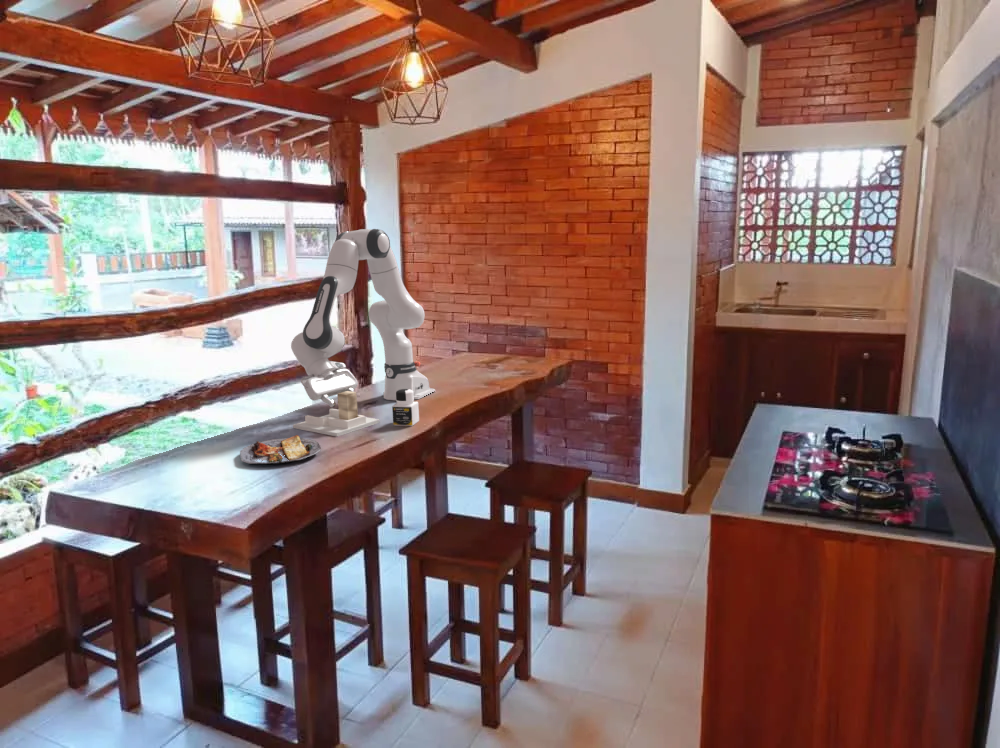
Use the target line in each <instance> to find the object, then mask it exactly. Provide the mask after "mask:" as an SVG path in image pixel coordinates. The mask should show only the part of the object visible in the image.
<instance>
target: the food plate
mask: <svg viewBox="0 0 1000 748" xmlns="http://www.w3.org/2000/svg"><path fill="white" fill-rule="evenodd" d="M320 451H321V445H320V443H319V442H318V441H317V440H315V439H311V438H303V437H300V436H299V435H298V434H296V435H293V436H290V437H288V438H287V437H284V438H273V439H268V440H267V439H266V440H263V441H255V443H251V444H249V445H248V446H246V447H244V448H242V449H241V450H239V453H240V461H241V462H244V463H246V464H253V465H254V464H258V465H259V464H261V465H266V464H267V465H278V464H285V462H286V463H291V462H297V461H302V460H305V459H306V458H308V457H312V456H314V455H316V454H317V453H319V452H320ZM280 454H281V455H282V456H284V455H285V456H284V458H282V456H281V455H280ZM285 458H287V459H288V460H289V461H288V460H284V461H283V459H285ZM259 460H260V461H259ZM263 461H264V462H263Z"/></svg>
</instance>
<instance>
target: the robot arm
mask: <svg viewBox="0 0 1000 748" xmlns="http://www.w3.org/2000/svg"><path fill="white" fill-rule="evenodd" d="M327 257H328V258H327V260H326V261H327V262H326V266H325V269H324V275H323V278H322V280H321V282H320V284H319V288H318V290H317V294H316V297H315V300H314V302H313V303H314V304H313V307H312V311H311V314H310V317H309V319H308V320H307V322H306V323H305V325H304V327H303V329H302V332H300V333H298V334H296V335H295V336H294V337H293V339H292V341H291V343H290V346H291V347H290V348H291V351H292V353H293V355H294V356H295V359H296V360H297V362H298V363H299V364H300V365H301V367H303V368H304V370H305V373H306V374H307V376H306V375H305V376H303V377H302V378H301V380H300V383H301V385H302V386H303V388H304V390H305V392H306V394H307V396H308V397H309V399H310V400H312V401H314V402H315V401H318V400H321V401H322V402H323V403H324V404H327V405H328V406H329V408H333V407H334V408H335V406H336V404H337V403H336V402H335V400H334V399H330V397H334V396H337V394H338V393H341V392H345V391H351V392H355V390H356V389H357V387H358V384H359V382H358V380H357V378H356V377H355V376H354V373H352V372H351V371H350V370H349V369H348V368H347V366H346V363H344V362H339V361H332V360H329V358H331V357H334V356H335V355H337V354H338V353H339V352H341V351H342V350H343V349H344V348H345V344H346V337H345V334H344V333H343V331H341V330H340V329H338V328H336V326H333V325H332V324H331V316H332V312H333V310H334V309H333V308H334V305H335V301H336V299H337V297H338V296H340V295H344V294H347V293H349V292H350V291H352V290H353V288H354V286H355V283H356V281H357V280H356V279H357V276H358V270H359V261H364V260H365V261H367V262H366V263H367V267H368V271H369V274H370V279H371V281H372V285H373V288H374V291H375V292H376V293H377V294H378V295H379V296H381V297H382V298H383V299H384V300H379V301H376V302H373V303H372V304H371V305H370V307H369V310H368V318H369V320H370V323H372V325H374V326H375V328H376V329H377V331H378V332H379V335H380V338H381V341H382V343H383V348H384V349H383V350H384V361H385V363H384V373H385V376H384V391H383V396H382V397H383V399H384V400H387V401H396V392H397V391H398V390H401V389H410V390H412V391H413V394H414V400H420V399H422V398H424V396H425V397H427V396H429V395H431V394H433V393H432V392H434V391H435V392H436V389H435V388H433V387H432V388H431V387H430V383H429V379H428V378H427V376H425V375H424V374H422V373H421V372H419V370H418V369H417V367H420V366H421V362H420V361H414V354H413V343H412V342H411V340H410V339H409V338H408V337H407V336H406V335H405V333H404V331H403V330H411V329H412V330H413V329H417V328H419V327H421V326H422V325H423V324H424V321H425V318H426V316H425V310H424V308H423V306H422V305H421V304H420V303H418V302H417V301H416V300H415V299H414V298H413V297H412V296H411V294H410V293H409V292H408V290H407V288H406V286H405V284H404V282H403V279H402V276H401V273H400V272H401V271H400V270H399V266H398V263H397V259H396V256H395V254H394V252H393V249H392V246H391V240H390V237H389V236H388V234H387V233H386V232H385V231H384V230H382V229H379V228H372V229H371V228H370V229H368V228H367V229H366V228H364V229H363V228H361V229H358V230H351V231H349V230H348V231H344V232H341V233H339V234H338V235H337V237H336V238H335V240H334V242H333V243H332V245H331V248H330V250H329V253H328V256H327ZM435 392H434V393H435ZM430 393H431V394H430ZM428 394H429V395H428ZM426 395H427V396H426Z"/></svg>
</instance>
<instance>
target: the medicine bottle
mask: <svg viewBox="0 0 1000 748" xmlns="http://www.w3.org/2000/svg"><path fill="white" fill-rule="evenodd" d="M395 401H396V403H395V404H393V405H392V424H393V427H394V426H397V427H398V426H399V427H414V426H415V425H416V424H417V423H418V422H420V411H419V410H420V409H419V401H415V399H414V394H413V391H412V390H410V389H401V390H398V391H397V392H396V400H395Z"/></svg>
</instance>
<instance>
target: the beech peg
mask: <svg viewBox="0 0 1000 748" xmlns="http://www.w3.org/2000/svg"><path fill="white" fill-rule="evenodd" d="M336 396H337V405H338V410H339V419H343V420H350V419H354V418H357V417H358V415H359V414H358V413H359V411H358V397H357V391H354V392H351V391H345V392H341V393H338V394H337V395H336Z"/></svg>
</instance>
